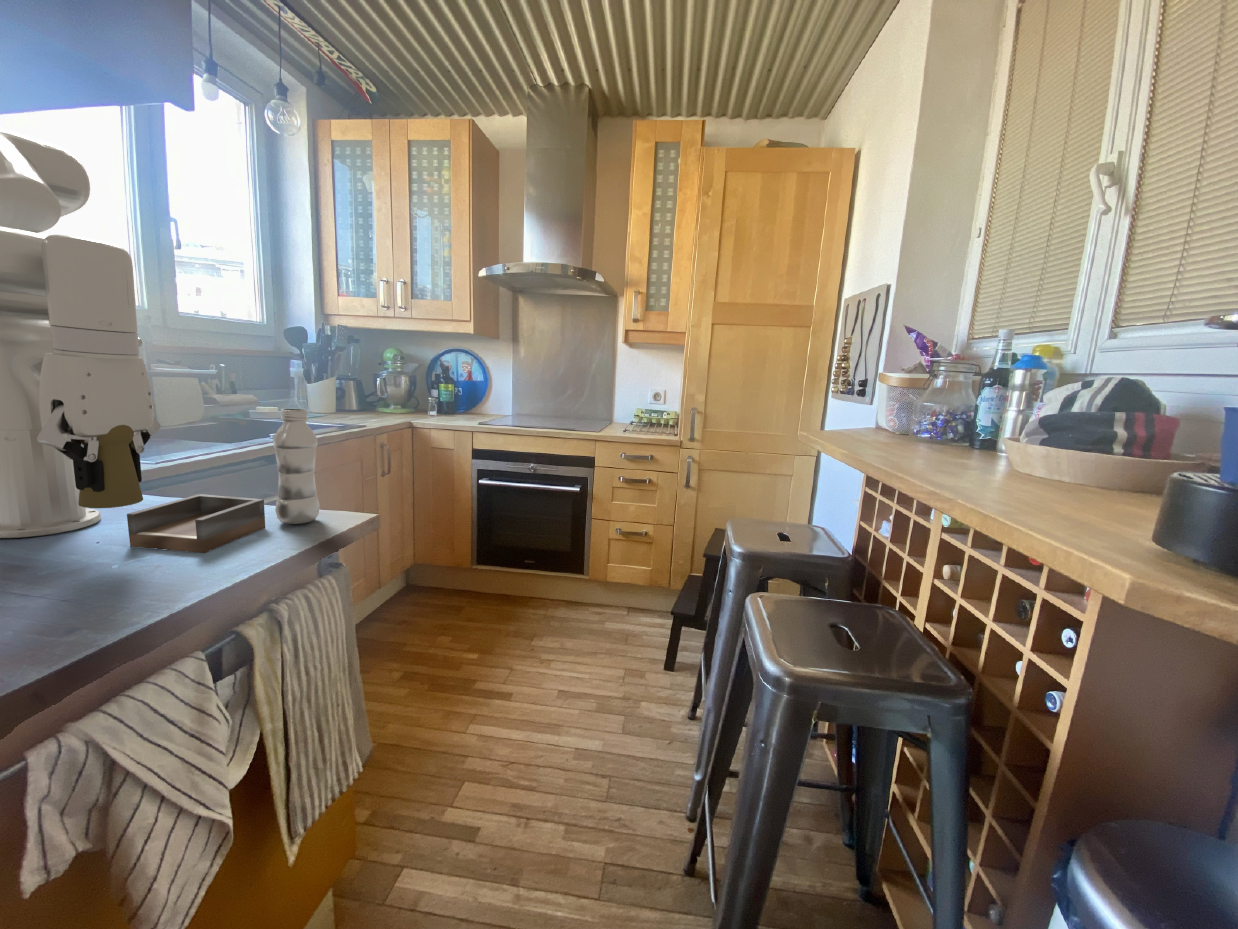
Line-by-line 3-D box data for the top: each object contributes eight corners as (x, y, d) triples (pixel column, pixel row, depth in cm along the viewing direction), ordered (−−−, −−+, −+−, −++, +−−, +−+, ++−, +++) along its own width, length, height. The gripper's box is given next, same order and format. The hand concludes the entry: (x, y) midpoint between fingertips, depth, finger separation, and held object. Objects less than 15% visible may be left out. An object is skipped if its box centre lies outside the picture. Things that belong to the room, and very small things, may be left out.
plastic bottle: (266, 526, 84) (260, 409, 80) (294, 515, 91) (289, 406, 87) (303, 530, 84) (298, 412, 80) (328, 518, 90) (325, 409, 87)
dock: (130, 547, 72) (126, 513, 71) (201, 522, 83) (199, 494, 82) (204, 553, 71) (202, 520, 71) (265, 527, 83) (263, 499, 82)
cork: (102, 511, 62) (93, 424, 60) (65, 503, 63) (55, 418, 61) (155, 499, 68) (149, 420, 66) (120, 492, 69) (113, 414, 67)
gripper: (134, 344, 70) (144, 469, 73) (-20, 336, 53) (2, 499, 57) (186, 350, 70) (193, 475, 73) (48, 344, 53) (66, 506, 57)
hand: (110, 484), depth 65 cm, fingers closed on cork, 4 cm apart
